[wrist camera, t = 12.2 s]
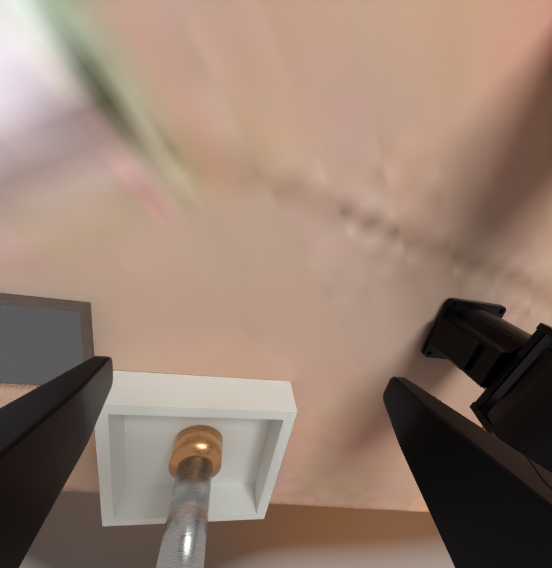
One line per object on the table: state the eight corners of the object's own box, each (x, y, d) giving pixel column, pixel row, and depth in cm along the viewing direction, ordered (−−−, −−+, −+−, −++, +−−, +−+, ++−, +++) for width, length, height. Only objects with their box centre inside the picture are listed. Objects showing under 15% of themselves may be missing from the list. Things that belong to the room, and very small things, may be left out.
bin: (289, 381, 26) (297, 411, 22) (261, 482, 31) (263, 518, 28) (114, 370, 22) (92, 404, 19) (118, 485, 28) (102, 526, 25)
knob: (217, 420, 26) (205, 557, 16) (227, 451, 28) (221, 588, 18) (168, 430, 25) (128, 575, 16) (181, 461, 27) (153, 606, 18)
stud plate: (90, 302, 20) (79, 312, 18) (95, 373, 22) (85, 386, 21) (-19, 291, 18) (-39, 300, 17) (0, 368, 21) (-17, 381, 20)
